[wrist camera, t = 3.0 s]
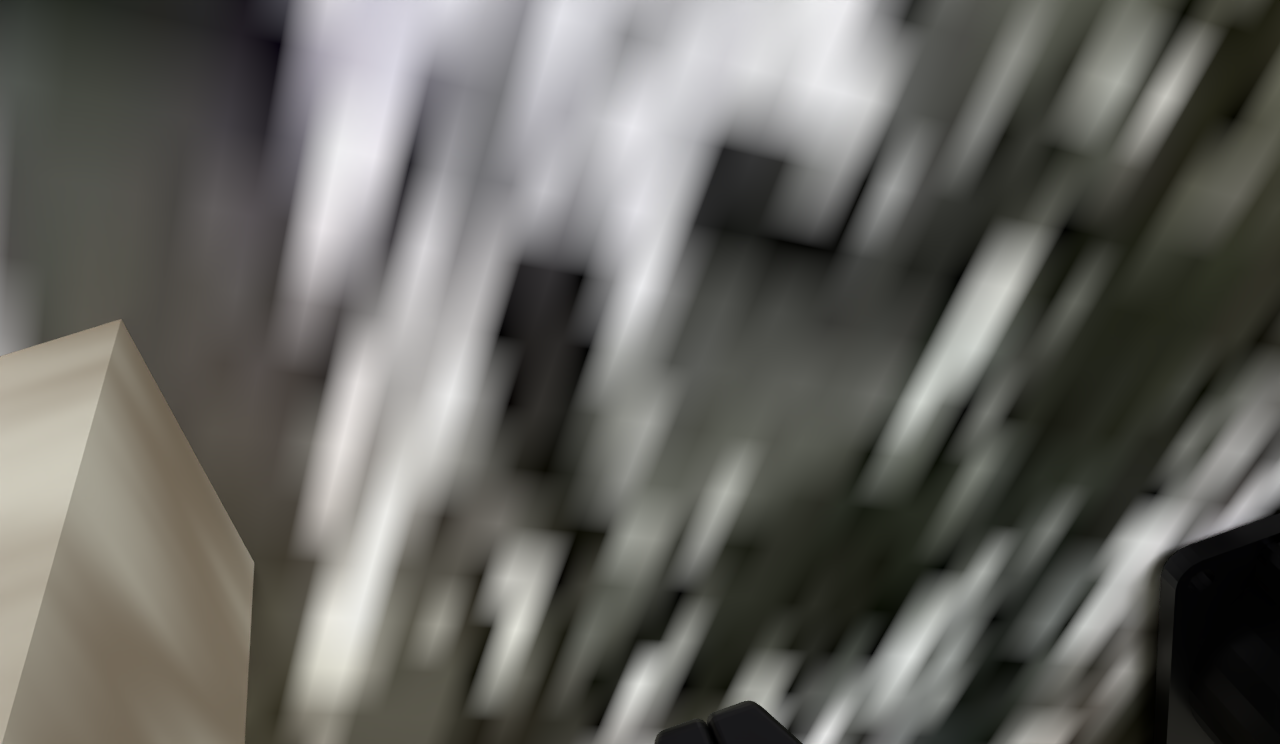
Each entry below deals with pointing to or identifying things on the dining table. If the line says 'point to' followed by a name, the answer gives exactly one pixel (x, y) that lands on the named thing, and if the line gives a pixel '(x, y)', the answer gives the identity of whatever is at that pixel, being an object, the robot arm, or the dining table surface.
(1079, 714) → the dining table surface
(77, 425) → the tall block
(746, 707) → the robot arm
